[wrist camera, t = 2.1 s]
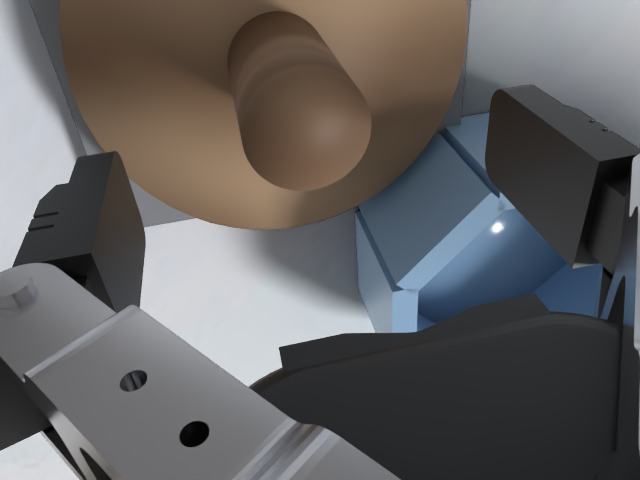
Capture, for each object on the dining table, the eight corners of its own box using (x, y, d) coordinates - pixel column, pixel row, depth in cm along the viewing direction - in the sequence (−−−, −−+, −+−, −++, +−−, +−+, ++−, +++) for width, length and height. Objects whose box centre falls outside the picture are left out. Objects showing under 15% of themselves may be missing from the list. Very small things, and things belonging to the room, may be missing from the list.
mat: (-15, -137, 14) (-23, -137, 13) (476, -186, 15) (486, -187, 15) (117, 222, 20) (116, 232, 20) (450, 165, 22) (456, 172, 21)
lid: (-10, -164, 13) (-124, -171, 8) (470, -209, 14) (613, -237, 9) (133, 240, 20) (118, 363, 15) (443, 185, 21) (518, 282, 17)
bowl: (350, 134, 20) (392, 206, 16) (624, 90, 21) (726, 145, 17) (361, 341, 27) (392, 428, 23) (569, 297, 28) (633, 372, 24)
